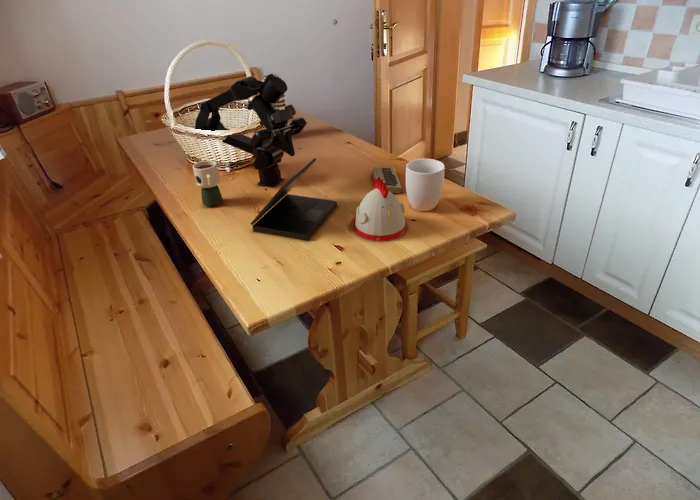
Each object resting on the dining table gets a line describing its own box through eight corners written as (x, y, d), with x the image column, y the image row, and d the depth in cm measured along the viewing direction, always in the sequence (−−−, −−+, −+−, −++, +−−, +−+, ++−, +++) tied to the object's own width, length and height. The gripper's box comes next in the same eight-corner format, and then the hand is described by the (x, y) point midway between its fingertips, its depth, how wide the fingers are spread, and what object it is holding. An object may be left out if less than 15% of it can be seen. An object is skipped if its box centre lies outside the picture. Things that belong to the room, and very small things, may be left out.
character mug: (198, 199, 152) (189, 161, 145) (220, 194, 154) (212, 156, 147) (205, 213, 144) (195, 173, 136) (228, 207, 146) (220, 168, 139)
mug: (402, 193, 150) (403, 154, 143) (437, 192, 149) (439, 152, 142) (406, 215, 137) (407, 174, 130) (444, 214, 137) (448, 172, 130)
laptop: (337, 206, 144) (336, 200, 143) (307, 241, 128) (307, 234, 127) (287, 199, 149) (287, 193, 148) (253, 231, 133) (252, 225, 132)
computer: (402, 193, 149) (402, 183, 148) (376, 195, 149) (376, 185, 147) (395, 173, 163) (395, 164, 161) (371, 175, 162) (371, 166, 161)
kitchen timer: (368, 245, 124) (367, 194, 116) (347, 222, 135) (345, 174, 127) (414, 233, 129) (416, 182, 121) (390, 212, 140) (391, 164, 131)
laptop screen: (316, 159, 138) (314, 157, 138) (283, 189, 122) (280, 187, 121) (287, 194, 148) (285, 192, 148) (252, 225, 132) (250, 223, 132)
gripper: (250, 104, 134) (279, 150, 133) (300, 90, 145) (327, 133, 144) (238, 126, 143) (265, 169, 142) (286, 111, 154) (312, 152, 153)
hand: (293, 155), depth 145 cm, fingers closed
